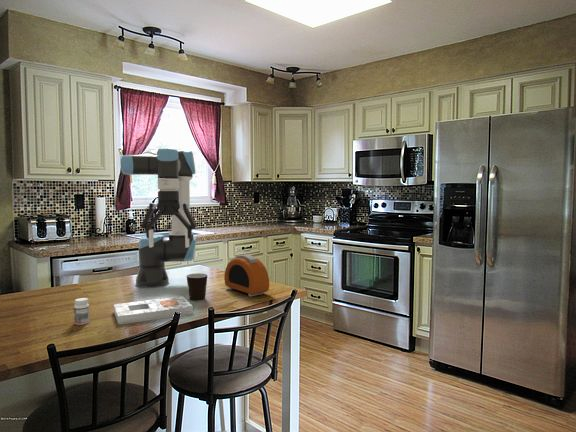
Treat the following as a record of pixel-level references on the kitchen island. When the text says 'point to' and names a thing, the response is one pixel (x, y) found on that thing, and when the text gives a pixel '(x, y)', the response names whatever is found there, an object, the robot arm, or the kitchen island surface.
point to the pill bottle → (81, 311)
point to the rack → (151, 309)
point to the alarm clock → (247, 275)
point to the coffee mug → (197, 286)
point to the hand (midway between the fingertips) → (169, 247)
